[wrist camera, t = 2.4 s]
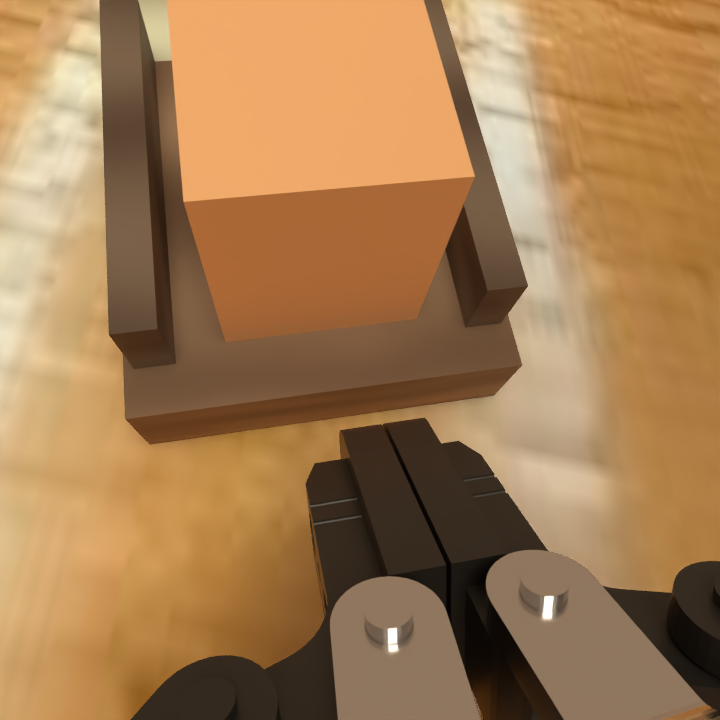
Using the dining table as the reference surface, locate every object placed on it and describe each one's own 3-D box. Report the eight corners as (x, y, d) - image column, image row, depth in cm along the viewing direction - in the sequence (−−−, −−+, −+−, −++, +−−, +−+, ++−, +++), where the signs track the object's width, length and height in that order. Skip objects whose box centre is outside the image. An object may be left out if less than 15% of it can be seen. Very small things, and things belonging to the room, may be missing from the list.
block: (416, 319, 19) (474, 176, 13) (225, 342, 18) (183, 202, 12) (382, 166, 21) (417, -24, 15) (208, 180, 20) (165, -15, 14)
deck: (493, 395, 22) (552, 332, 17) (149, 443, 20) (97, 391, 15) (348, -159, 33) (356, -298, 28) (119, -158, 31) (83, -306, 26)
